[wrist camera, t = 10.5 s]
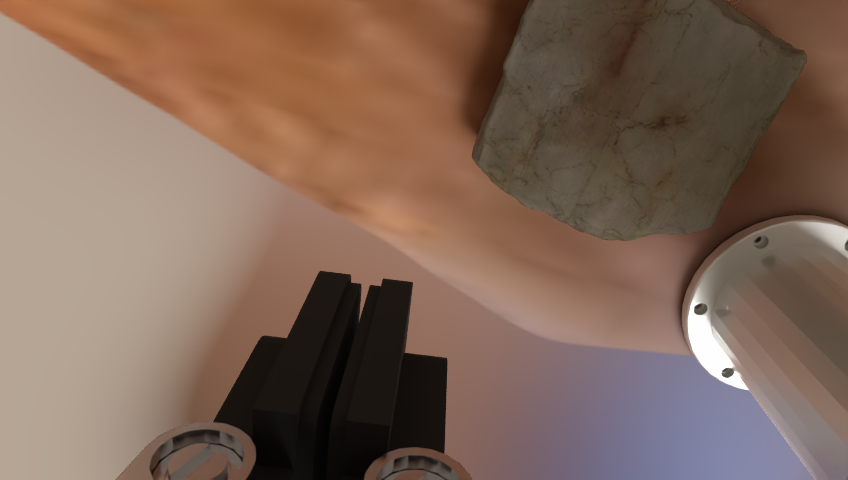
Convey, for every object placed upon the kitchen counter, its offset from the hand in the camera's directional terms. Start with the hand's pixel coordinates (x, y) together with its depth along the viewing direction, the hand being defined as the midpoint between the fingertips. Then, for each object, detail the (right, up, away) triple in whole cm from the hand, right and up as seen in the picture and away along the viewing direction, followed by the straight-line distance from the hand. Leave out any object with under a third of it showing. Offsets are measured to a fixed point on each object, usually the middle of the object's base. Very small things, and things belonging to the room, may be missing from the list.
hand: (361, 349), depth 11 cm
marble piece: (+13, +11, +25) cm, 30 cm away
